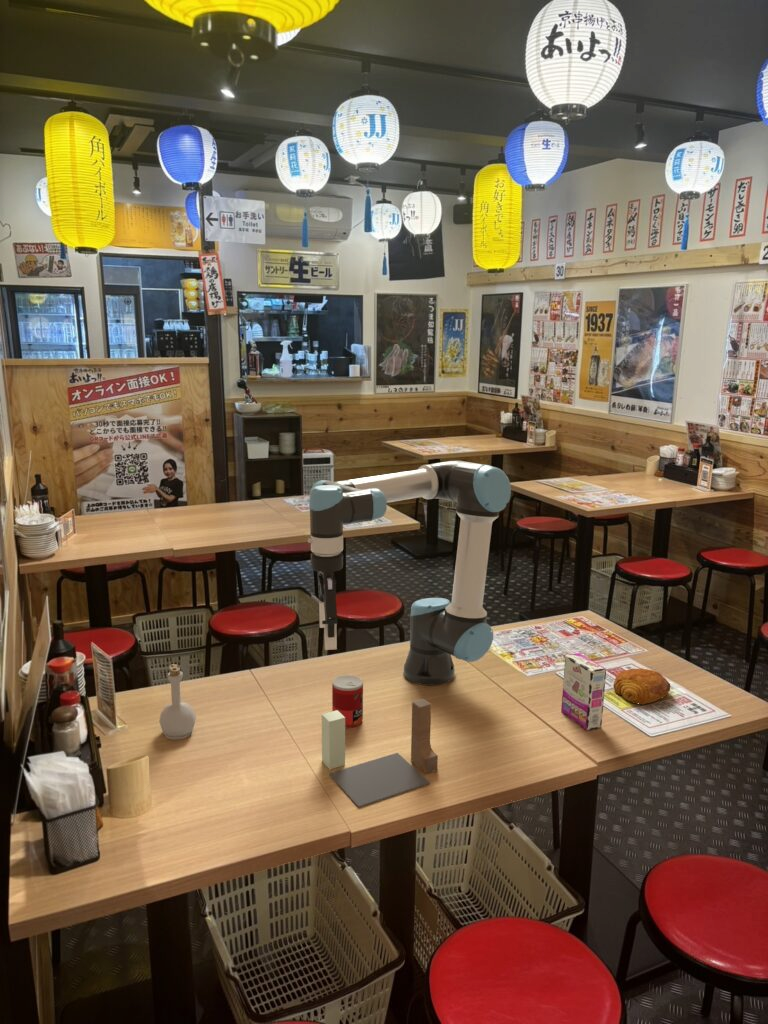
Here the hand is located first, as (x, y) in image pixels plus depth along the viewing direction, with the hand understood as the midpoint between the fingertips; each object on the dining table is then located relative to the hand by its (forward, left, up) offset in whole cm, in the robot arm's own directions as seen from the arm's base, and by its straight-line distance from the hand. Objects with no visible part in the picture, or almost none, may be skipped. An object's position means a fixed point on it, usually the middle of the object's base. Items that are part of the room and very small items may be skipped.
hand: (327, 637), depth 175 cm
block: (+4, +10, -27) cm, 29 cm away
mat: (-2, +21, -27) cm, 34 cm away
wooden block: (-14, +21, -27) cm, 37 cm away
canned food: (-8, -6, -27) cm, 29 cm away
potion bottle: (+32, -21, -27) cm, 47 cm away
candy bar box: (-62, +23, -27) cm, 72 cm away
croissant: (-88, +20, -27) cm, 95 cm away
